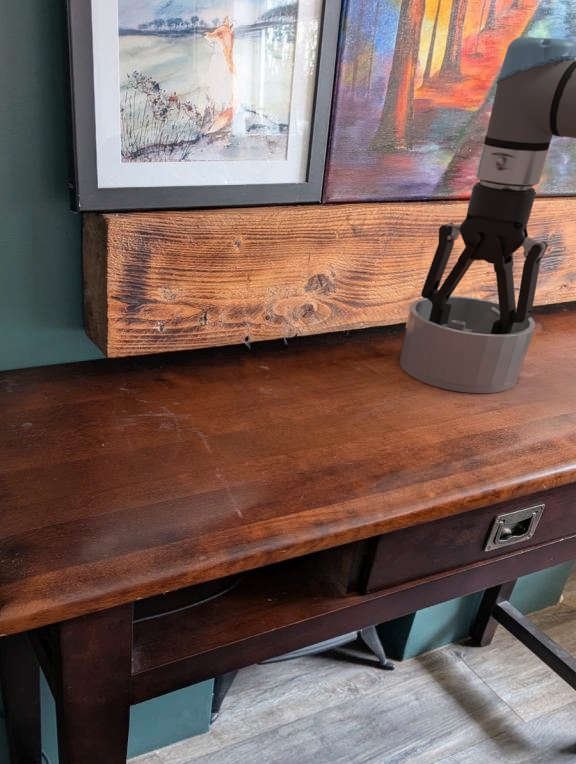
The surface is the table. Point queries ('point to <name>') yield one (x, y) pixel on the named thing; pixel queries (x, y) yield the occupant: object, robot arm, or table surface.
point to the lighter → (481, 326)
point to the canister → (463, 348)
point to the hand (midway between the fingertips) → (460, 358)
